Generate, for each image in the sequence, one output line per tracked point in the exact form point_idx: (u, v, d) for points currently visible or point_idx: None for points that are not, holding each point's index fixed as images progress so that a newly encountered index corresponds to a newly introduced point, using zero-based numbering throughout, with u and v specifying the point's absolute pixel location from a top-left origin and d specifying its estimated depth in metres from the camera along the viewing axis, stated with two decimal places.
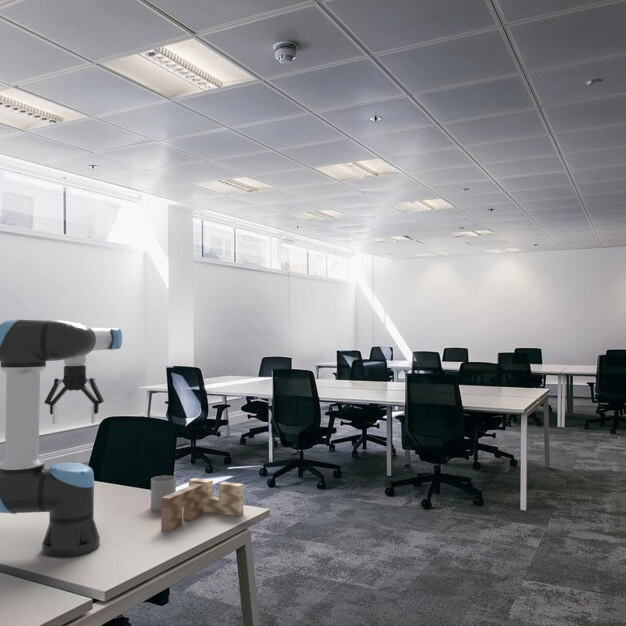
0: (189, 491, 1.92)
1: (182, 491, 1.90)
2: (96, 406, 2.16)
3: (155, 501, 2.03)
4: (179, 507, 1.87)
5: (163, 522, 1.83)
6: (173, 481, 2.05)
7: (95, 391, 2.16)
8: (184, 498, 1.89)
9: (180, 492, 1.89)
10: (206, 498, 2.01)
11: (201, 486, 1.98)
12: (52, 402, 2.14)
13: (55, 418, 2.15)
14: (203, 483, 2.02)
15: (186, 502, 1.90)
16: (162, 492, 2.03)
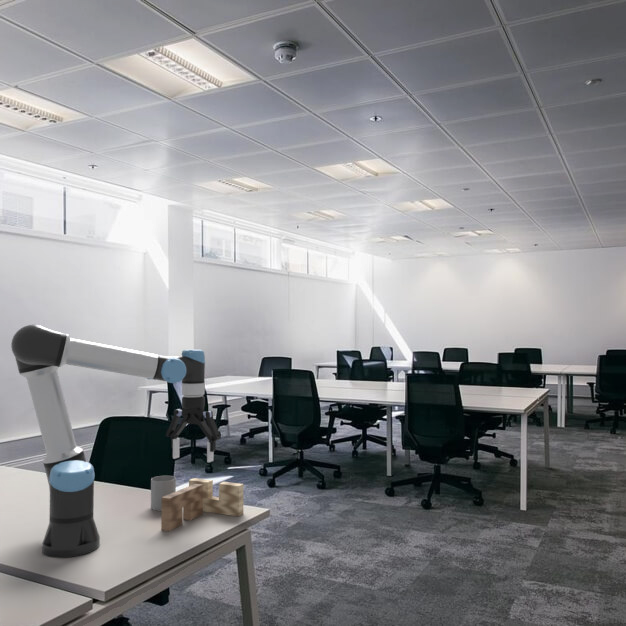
0: (189, 491, 1.92)
1: (182, 491, 1.90)
2: (212, 443, 1.93)
3: (155, 501, 2.03)
4: (179, 507, 1.87)
5: (163, 522, 1.83)
6: (173, 481, 2.05)
7: (210, 426, 1.93)
8: (184, 498, 1.89)
9: (180, 492, 1.89)
10: (206, 498, 2.01)
11: (201, 486, 1.98)
12: (172, 435, 1.98)
13: (176, 452, 1.99)
14: (203, 483, 2.02)
15: (186, 502, 1.90)
16: (162, 492, 2.03)
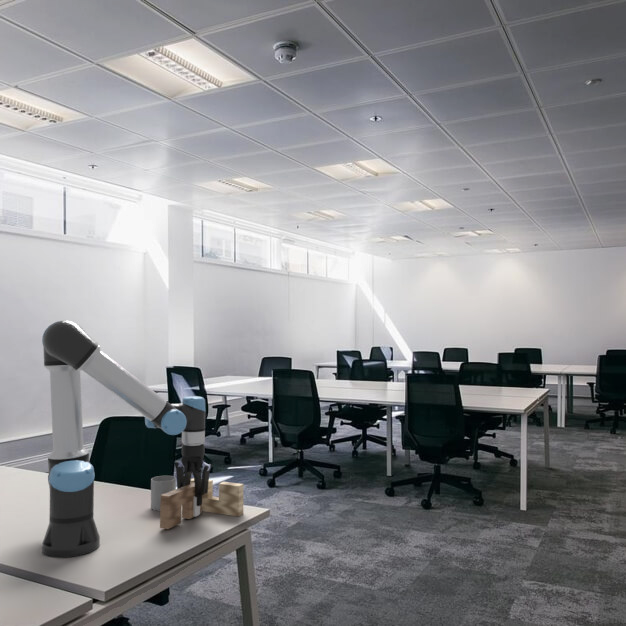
0: (188, 489, 1.91)
1: (181, 489, 1.90)
2: (198, 498, 1.94)
3: (155, 501, 2.03)
4: (178, 505, 1.86)
5: (162, 520, 1.82)
6: (173, 481, 2.05)
7: (203, 480, 1.93)
8: (183, 496, 1.89)
9: (179, 490, 1.89)
10: (206, 498, 2.01)
11: None
12: None
13: None
14: None
15: (185, 500, 1.90)
16: (162, 492, 2.03)
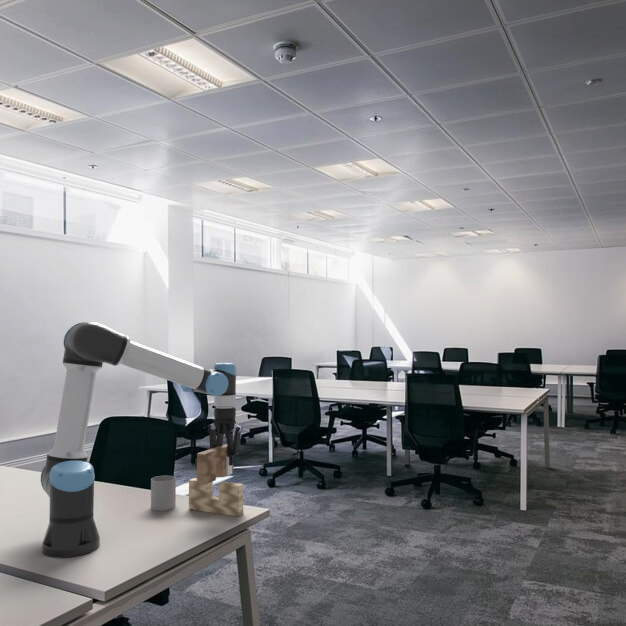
0: (221, 449, 2.03)
1: (215, 449, 2.01)
2: (231, 457, 2.05)
3: (155, 501, 2.03)
4: (213, 463, 1.98)
5: (198, 476, 1.94)
6: (173, 481, 2.05)
7: (235, 441, 2.04)
8: (217, 455, 2.00)
9: (213, 450, 2.00)
10: (206, 498, 2.01)
11: None
12: None
13: None
14: None
15: (219, 459, 2.02)
16: (162, 492, 2.03)
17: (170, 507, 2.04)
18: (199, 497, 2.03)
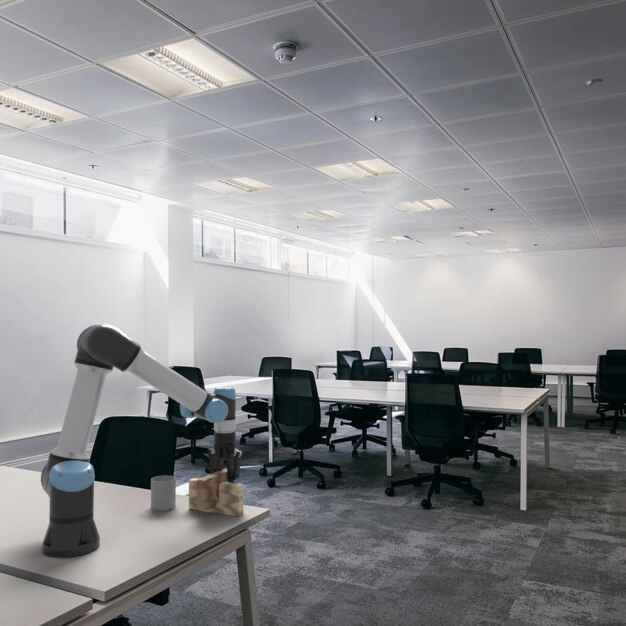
0: (221, 474, 2.03)
1: (215, 474, 2.01)
2: (231, 482, 2.05)
3: (155, 501, 2.03)
4: (213, 489, 1.98)
5: (199, 503, 1.94)
6: (173, 481, 2.05)
7: (235, 466, 2.04)
8: (217, 480, 2.00)
9: (213, 475, 2.00)
10: None
11: None
12: None
13: None
14: None
15: None
16: (162, 492, 2.03)
17: (170, 507, 2.04)
18: None
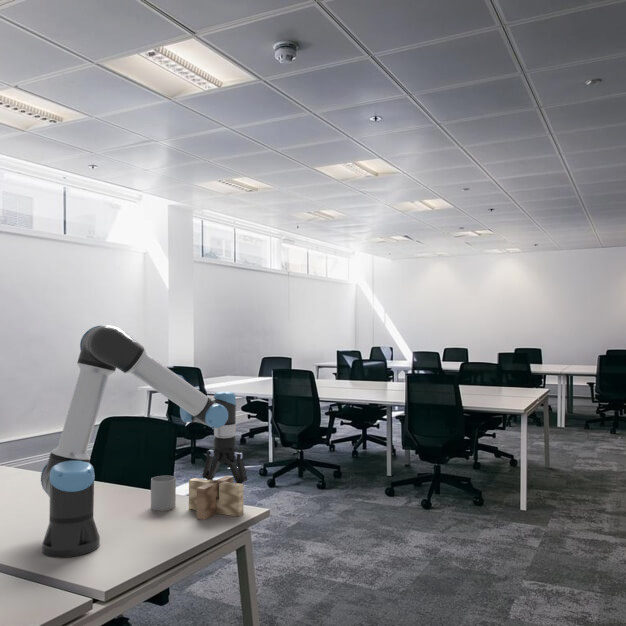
0: (221, 482, 2.02)
1: (215, 482, 2.01)
2: None
3: (155, 501, 2.03)
4: (213, 497, 1.98)
5: (198, 511, 1.94)
6: (173, 481, 2.05)
7: (239, 468, 2.03)
8: (217, 489, 2.00)
9: (213, 483, 2.00)
10: None
11: (232, 478, 2.09)
12: (208, 477, 2.08)
13: None
14: (203, 483, 2.02)
15: None
16: (162, 492, 2.03)
17: (170, 507, 2.04)
18: None
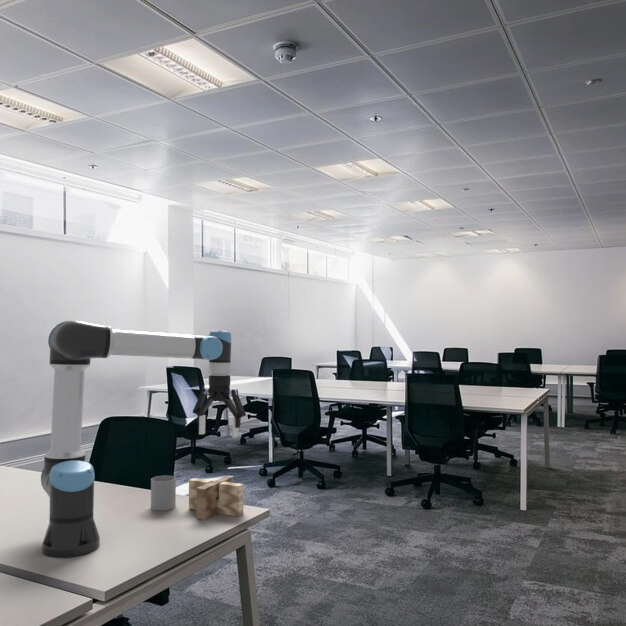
0: (221, 482, 2.02)
1: (215, 482, 2.01)
2: (237, 420, 2.02)
3: (155, 501, 2.03)
4: (213, 497, 1.98)
5: (198, 511, 1.94)
6: (173, 481, 2.05)
7: (236, 404, 2.02)
8: (217, 489, 2.00)
9: (213, 483, 2.00)
10: None
11: (232, 478, 2.09)
12: (199, 412, 2.08)
13: (202, 429, 2.08)
14: (203, 483, 2.02)
15: None
16: (162, 492, 2.03)
17: (170, 507, 2.04)
18: None
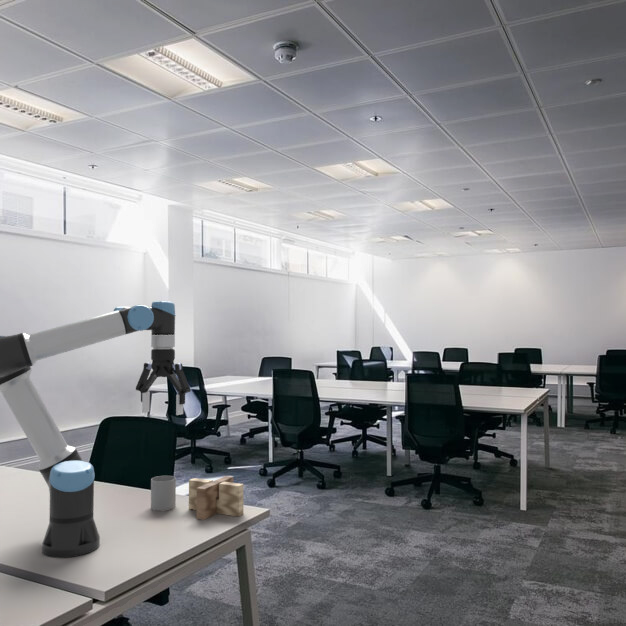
0: (221, 482, 2.02)
1: (215, 482, 2.01)
2: (181, 396, 1.89)
3: (155, 501, 2.03)
4: (213, 497, 1.98)
5: (198, 511, 1.94)
6: (173, 481, 2.05)
7: (180, 379, 1.89)
8: (217, 489, 2.00)
9: (213, 483, 2.00)
10: None
11: (232, 478, 2.09)
12: (142, 389, 1.95)
13: (145, 406, 1.95)
14: (203, 483, 2.02)
15: None
16: (162, 492, 2.03)
17: (170, 507, 2.04)
18: None
